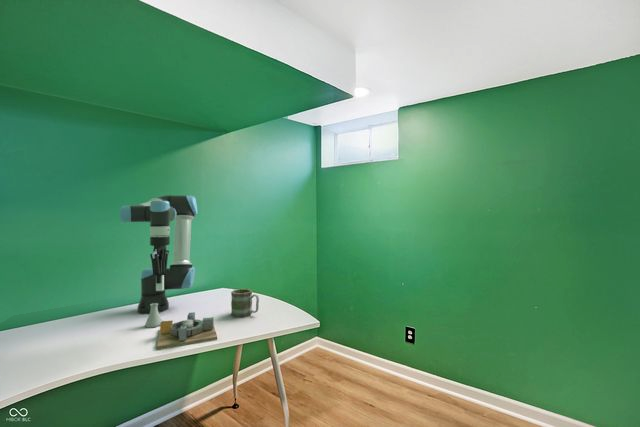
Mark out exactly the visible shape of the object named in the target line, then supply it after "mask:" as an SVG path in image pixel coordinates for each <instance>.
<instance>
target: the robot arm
mask: <svg viewBox="0 0 640 427" xmlns="http://www.w3.org/2000/svg"><path fill="white" fill-rule="evenodd" d="M197 215H198V205H197V200H196V197H195V196H194V195H187V194H186V195H171V194H170V195H168V194H167V195H161V196H156V197H153V198H150V199H149V200H148V201H145V202H142V203H139V204H135V205H123V206H121V207H120V210H119V218H120V220H121V221H122V222H123V223H146V222H147V223H149V235H150V237H149V246H152V247H153V252H152V253H150V256H149V257H150V259H151V260H150V261H151V267H148V268H144V269H143V270H142V271H141V277H140V280H141V281H140V293H141V295H140V300H139V303H138V305H137V313H139V314H148V315H149V314H150V310H151V306H150V304H153V303H158V305H157V308H158V312H159V313H161V312H163V311H164V312H165V311H167V310H168V309H169V308H170V303H169V300H168V298H167V294H166V291H167V290H169V291H171V290H185V289H190V288H191V287H193V284H194V282H195V276H196V268H195V267H194V266H193V263H192V262H191V261H190V260H191V242H192V241H191V237H192V234H191V233H192V221H193V220H194V219H195V216H197ZM173 221H174V223H175V224H174V241H173V255H172V256H173V257H172V262H171V263H170V264H169V268H168V257H169V253H170V251H169V250H167V246H169V245H170V243H171V239H170V238H171V237H170V233H171V232H170V231H171V228H170V224H171V222H173Z"/></svg>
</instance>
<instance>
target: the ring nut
mask: <svg viewBox="0 0 640 427" xmlns="http://www.w3.org/2000/svg"><path fill="white" fill-rule="evenodd" d="M214 318H215V317H213V316H211V317H203V319H202V320H201V319H198V318H197V319H196V312H188V314H187V319H186V320H193V327H192V328H188V325H184V326H182V321H184V320H181V321H177V322H175V323H174V321H173V320H162V322H161V323H160V326H159V332H160V334H166V333H170V335H173V336H176V337H179V341H182V340H186V339H187V337H188V336H191V335H192V336H193V335H195V334H198V333H200V332H202V331H203V330H212V329H213V325H214ZM214 326H215V325H214Z"/></svg>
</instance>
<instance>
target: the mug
mask: <svg viewBox="0 0 640 427" xmlns="http://www.w3.org/2000/svg"><path fill="white" fill-rule="evenodd" d="M230 294H231V302H230V303H231V304H230V306H231V314H230V317H233V318H234V319H235V318H237V319H238V318H240V319H241V318H247V317H251V315H252V314H255V313H257V312H258V311H259V307H260V306H259V302H260V299H259V295H258V294H257V293H255V294H253V290H252V289H249V288H238V289H234V290H232V291H231V292H230ZM254 297H256V298H255V300H256V301H255V302H256V304H255V310H254V309H253V308H252V307H253V298H254Z"/></svg>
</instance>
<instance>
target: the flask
mask: <svg viewBox="0 0 640 427" xmlns="http://www.w3.org/2000/svg"><path fill="white" fill-rule="evenodd" d="M157 305H158V303H153V304H150V306H151V310H150V313H149V314H148V318H147V319H146V322H145V324H144V327H145V328H148V329H149V328H157V327H160V323H161V322H162V321H163V320H162V318H161V315H160V312H158V308H157Z"/></svg>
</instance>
